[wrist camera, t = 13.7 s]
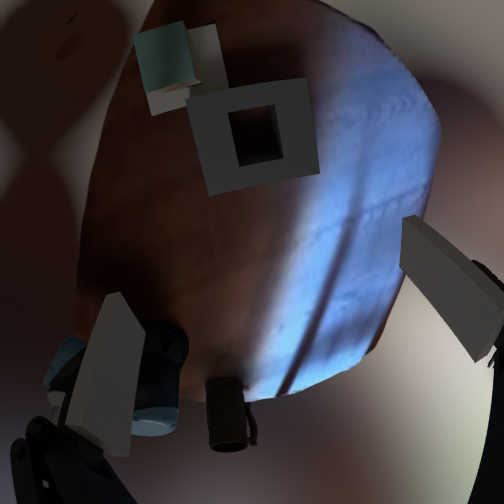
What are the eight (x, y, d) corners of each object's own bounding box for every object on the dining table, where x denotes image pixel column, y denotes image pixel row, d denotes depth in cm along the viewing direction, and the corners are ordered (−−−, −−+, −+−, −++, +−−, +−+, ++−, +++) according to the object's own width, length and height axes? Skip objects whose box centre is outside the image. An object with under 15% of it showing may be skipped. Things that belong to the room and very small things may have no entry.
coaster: (152, 115, 37) (151, 116, 37) (136, 46, 31) (135, 45, 30) (230, 95, 37) (230, 95, 37) (215, 24, 31) (215, 23, 30)
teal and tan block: (169, 92, 35) (145, 92, 23) (161, 53, 32) (132, 36, 19) (203, 83, 35) (195, 78, 23) (194, 44, 32) (182, 20, 19)
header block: (210, 182, 44) (209, 196, 39) (189, 98, 37) (184, 99, 32) (307, 163, 44) (319, 173, 39) (295, 79, 37) (306, 77, 32)
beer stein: (197, 390, 75) (203, 453, 58) (211, 373, 70) (220, 441, 54) (243, 397, 81) (254, 454, 64) (261, 380, 76) (275, 442, 60)
